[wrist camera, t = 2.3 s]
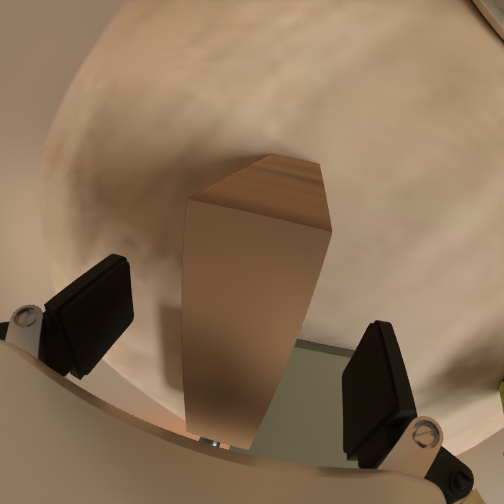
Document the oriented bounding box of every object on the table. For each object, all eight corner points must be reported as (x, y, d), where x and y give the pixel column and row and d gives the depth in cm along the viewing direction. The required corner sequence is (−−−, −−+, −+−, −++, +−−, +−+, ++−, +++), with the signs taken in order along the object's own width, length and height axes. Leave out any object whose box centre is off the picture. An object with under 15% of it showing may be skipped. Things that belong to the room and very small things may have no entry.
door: (256, 150, 13) (146, 192, 5) (319, 164, 13) (332, 232, 4) (233, 292, 18) (167, 423, 9) (283, 305, 17) (248, 450, 8)
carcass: (265, 331, 18) (218, 479, 9) (382, 355, 17) (395, 495, 7) (242, 412, 24) (210, 506, 14) (326, 428, 23) (315, 522, 13)
